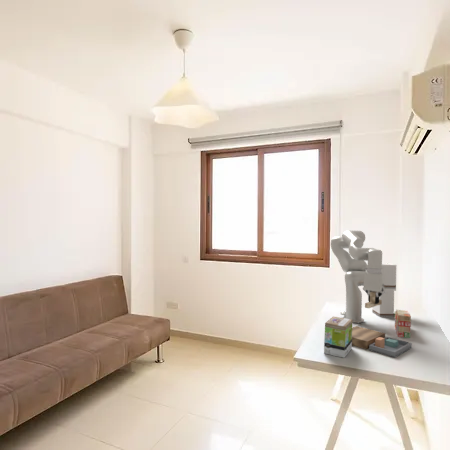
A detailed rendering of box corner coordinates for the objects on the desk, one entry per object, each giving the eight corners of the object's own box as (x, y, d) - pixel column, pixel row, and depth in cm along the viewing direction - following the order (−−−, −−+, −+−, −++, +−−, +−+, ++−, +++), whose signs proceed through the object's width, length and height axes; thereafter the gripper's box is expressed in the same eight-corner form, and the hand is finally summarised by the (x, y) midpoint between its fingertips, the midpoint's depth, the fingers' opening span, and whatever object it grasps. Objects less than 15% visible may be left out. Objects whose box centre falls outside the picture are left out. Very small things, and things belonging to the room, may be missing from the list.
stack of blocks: (394, 326, 205) (394, 306, 204) (405, 327, 202) (406, 307, 202) (397, 336, 185) (398, 314, 185) (410, 338, 182) (411, 315, 182)
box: (369, 350, 164) (369, 345, 164) (387, 341, 177) (387, 336, 177) (394, 357, 155) (394, 352, 155) (411, 347, 168) (411, 342, 168)
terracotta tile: (375, 338, 165) (380, 340, 163) (379, 336, 168) (384, 338, 166) (375, 347, 165) (380, 349, 163) (379, 345, 168) (384, 347, 166)
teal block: (394, 342, 166) (394, 347, 166) (398, 340, 169) (398, 345, 169) (385, 340, 169) (385, 345, 169) (389, 338, 172) (389, 343, 172)
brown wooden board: (337, 340, 176) (337, 333, 176) (356, 333, 190) (356, 326, 190) (367, 349, 164) (367, 341, 164) (385, 340, 178) (385, 333, 178)
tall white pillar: (395, 317, 225) (396, 264, 225) (379, 316, 225) (380, 264, 225) (387, 312, 236) (388, 263, 236) (372, 312, 236) (373, 262, 236)
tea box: (345, 358, 153) (346, 326, 153) (323, 353, 158) (323, 322, 158) (352, 348, 166) (352, 318, 166) (331, 344, 171) (332, 315, 171)
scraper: (364, 307, 188) (364, 293, 188) (377, 303, 199) (377, 289, 198) (369, 308, 186) (369, 294, 186) (382, 304, 196) (382, 290, 196)
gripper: (357, 269, 196) (356, 301, 196) (386, 273, 183) (385, 307, 184) (363, 268, 200) (363, 299, 201) (392, 272, 188) (391, 305, 188)
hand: (373, 302), depth 192 cm, fingers closed on scraper, 3 cm apart
